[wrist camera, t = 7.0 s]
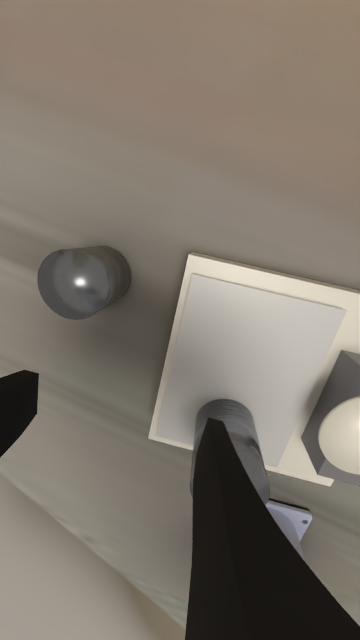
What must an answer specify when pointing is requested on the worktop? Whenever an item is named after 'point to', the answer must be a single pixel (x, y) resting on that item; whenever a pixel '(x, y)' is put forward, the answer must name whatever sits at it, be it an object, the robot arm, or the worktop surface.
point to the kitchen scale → (267, 365)
